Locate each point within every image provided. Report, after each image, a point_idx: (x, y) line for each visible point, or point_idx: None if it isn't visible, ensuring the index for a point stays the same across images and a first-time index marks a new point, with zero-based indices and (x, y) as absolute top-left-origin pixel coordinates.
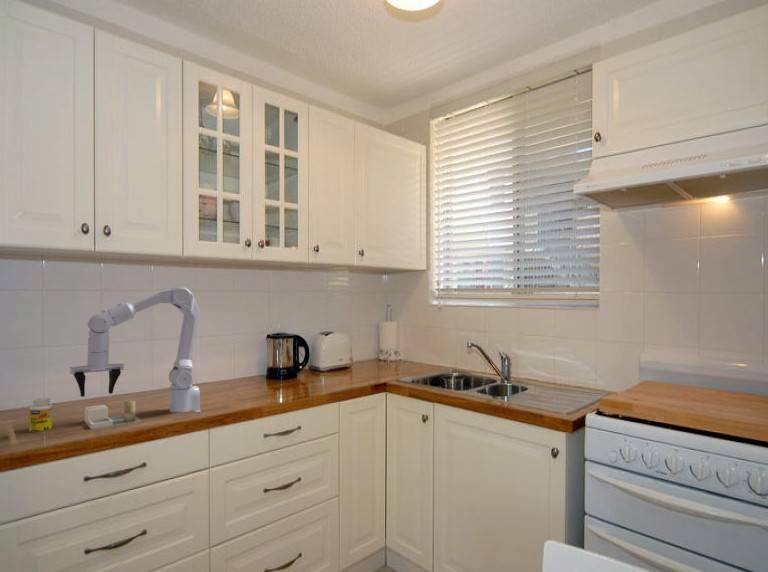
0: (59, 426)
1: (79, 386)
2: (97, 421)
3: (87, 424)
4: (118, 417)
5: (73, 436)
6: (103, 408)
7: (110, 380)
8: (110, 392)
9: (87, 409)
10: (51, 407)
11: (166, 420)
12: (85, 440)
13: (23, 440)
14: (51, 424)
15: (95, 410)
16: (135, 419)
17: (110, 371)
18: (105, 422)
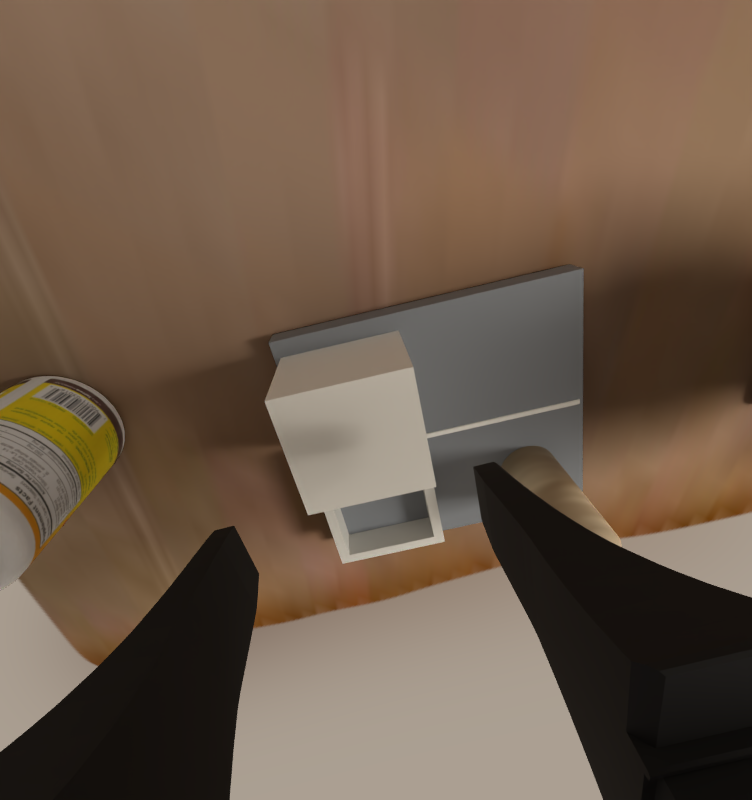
0: (123, 303)
1: (157, 622)
2: None
3: None
4: (483, 355)
5: (270, 544)
6: (405, 491)
7: (547, 615)
8: (488, 531)
9: (298, 483)
10: (32, 548)
11: (696, 450)
12: (331, 610)
13: None
14: (106, 459)
15: (354, 500)
16: (560, 451)
17: (638, 779)
18: (408, 546)
